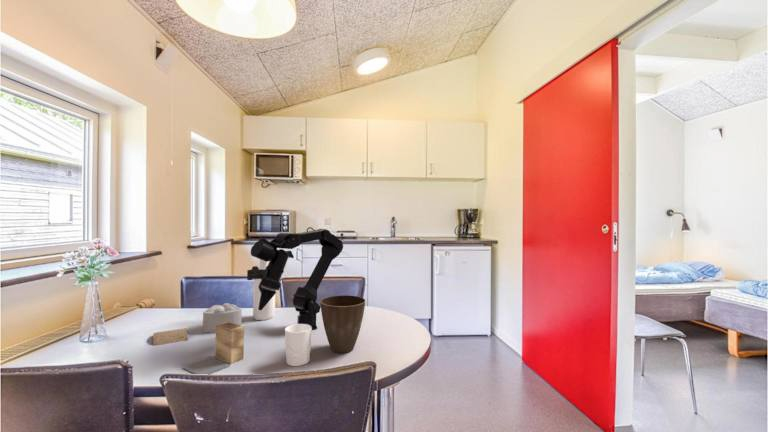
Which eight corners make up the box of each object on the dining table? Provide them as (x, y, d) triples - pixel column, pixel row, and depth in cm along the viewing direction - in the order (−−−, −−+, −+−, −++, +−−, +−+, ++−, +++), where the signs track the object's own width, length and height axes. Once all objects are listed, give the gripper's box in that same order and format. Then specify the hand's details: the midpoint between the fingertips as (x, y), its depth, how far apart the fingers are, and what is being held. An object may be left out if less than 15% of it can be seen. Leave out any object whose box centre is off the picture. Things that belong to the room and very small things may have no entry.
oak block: (227, 353, 101) (228, 321, 101) (243, 359, 97) (243, 325, 97) (215, 357, 98) (216, 324, 98) (231, 364, 93) (231, 329, 93)
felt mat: (210, 358, 97) (210, 357, 97) (229, 366, 92) (229, 365, 92) (182, 368, 90) (182, 367, 90) (202, 377, 85) (202, 376, 85)
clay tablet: (188, 342, 111) (188, 334, 111) (152, 349, 105) (152, 340, 105) (185, 330, 123) (185, 323, 123) (153, 335, 117) (153, 328, 117)
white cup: (287, 369, 90) (287, 334, 90) (282, 358, 97) (282, 325, 97) (314, 364, 94) (314, 330, 94) (307, 353, 101) (308, 322, 101)
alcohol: (249, 317, 138) (250, 248, 138) (269, 313, 144) (270, 247, 144) (257, 322, 131) (258, 249, 132) (278, 317, 137) (279, 248, 138)
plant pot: (325, 339, 113) (325, 294, 113) (366, 340, 113) (367, 295, 113) (314, 357, 98) (315, 305, 98) (362, 358, 98) (363, 306, 98)
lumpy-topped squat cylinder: (211, 323, 129) (211, 302, 129) (244, 322, 131) (245, 301, 131) (200, 333, 119) (200, 309, 119) (236, 331, 120) (236, 308, 121)
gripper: (253, 262, 119) (236, 303, 114) (254, 255, 103) (234, 303, 97) (282, 271, 123) (267, 311, 117) (287, 265, 106) (270, 313, 100)
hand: (259, 310), depth 108 cm, fingers closed
